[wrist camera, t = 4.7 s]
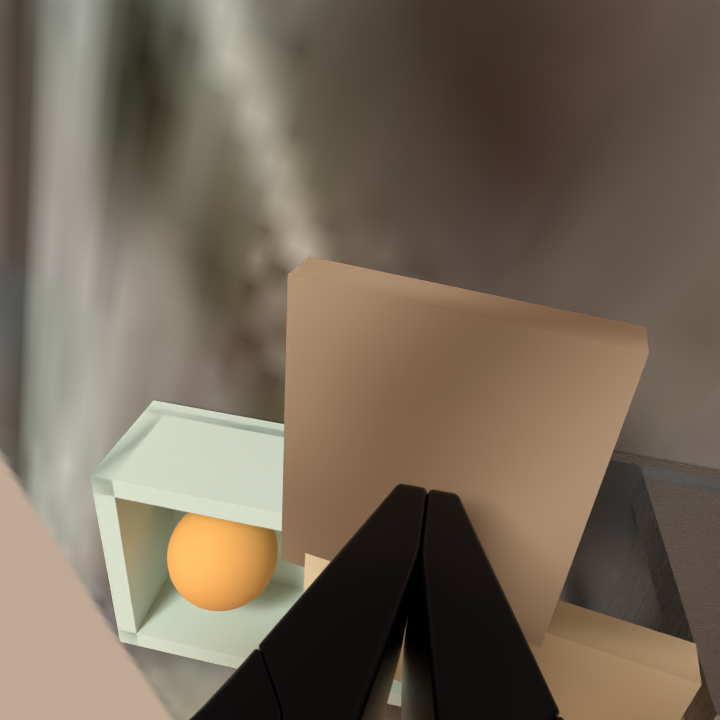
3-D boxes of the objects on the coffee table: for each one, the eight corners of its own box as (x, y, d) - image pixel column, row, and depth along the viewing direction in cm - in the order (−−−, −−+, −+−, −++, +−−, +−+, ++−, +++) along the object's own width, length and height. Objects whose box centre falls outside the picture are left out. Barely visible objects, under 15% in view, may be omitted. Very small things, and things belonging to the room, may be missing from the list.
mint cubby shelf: (484, 460, 18) (481, 553, 15) (447, 615, 21) (439, 715, 18) (153, 400, 19) (90, 475, 16) (169, 556, 23) (120, 641, 20)
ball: (302, 512, 18) (214, 578, 16) (298, 586, 20) (218, 656, 17) (228, 461, 20) (138, 514, 17) (230, 533, 21) (149, 591, 19)
